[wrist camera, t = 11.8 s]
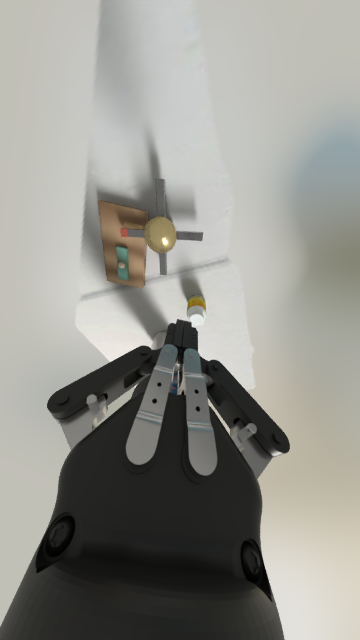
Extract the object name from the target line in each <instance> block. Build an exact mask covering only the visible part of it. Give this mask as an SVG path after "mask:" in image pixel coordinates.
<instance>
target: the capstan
mask: <svg viewBox="0 0 360 640" xmlns="http://www.w3.org/2000/svg"><path fill="white" fill-rule="evenodd" d="M156 195H157V215H158V217H154V218H152V219H151V220H149V221H148V223H147V224H146V227H145V229H130V228H120V233H121V237H139V238H145V240H146V242H147V244H148V246H149V247H150V248H151V249H152V250H153V251H155V252H158V253H159V257H160V275H166V274H167V252H168V251H170V250H171V249H172V248H173V246H174V245H175V242H176V239H178V240H197V241H202V238H203V232H189V231H176V229H175V226H174V225H173V223H172V222H171V221H170V220H169V219H167V218H166V203H165V180H164V179H156Z"/></svg>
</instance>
